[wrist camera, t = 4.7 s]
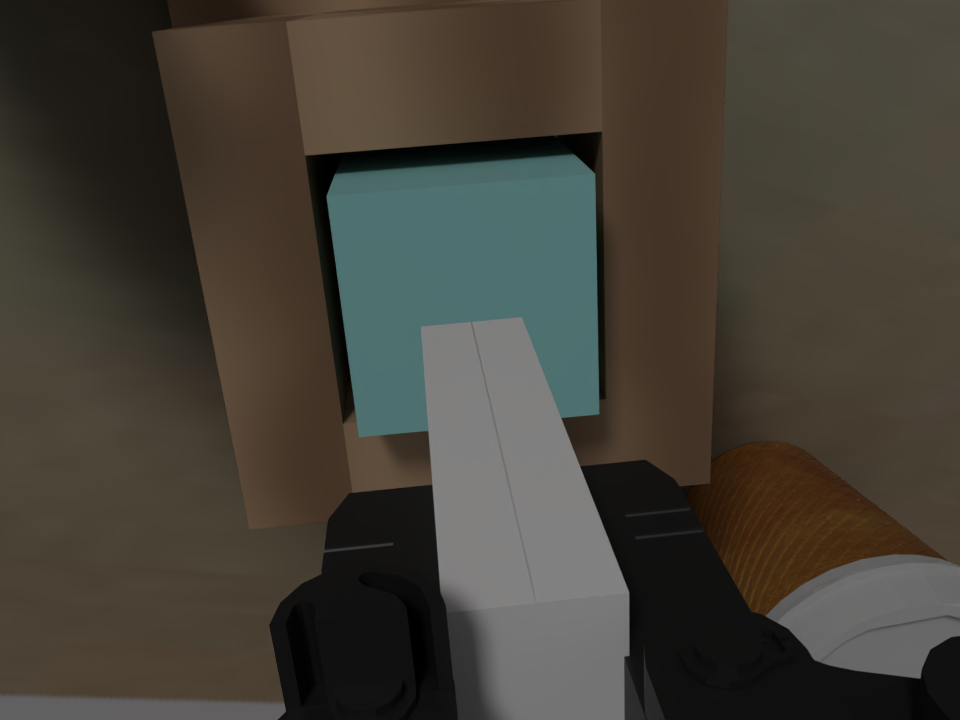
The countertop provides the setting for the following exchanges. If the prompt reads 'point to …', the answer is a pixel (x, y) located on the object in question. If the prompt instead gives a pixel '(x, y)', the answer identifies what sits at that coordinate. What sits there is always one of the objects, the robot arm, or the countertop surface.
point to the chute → (434, 121)
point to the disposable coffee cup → (827, 561)
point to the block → (464, 265)
